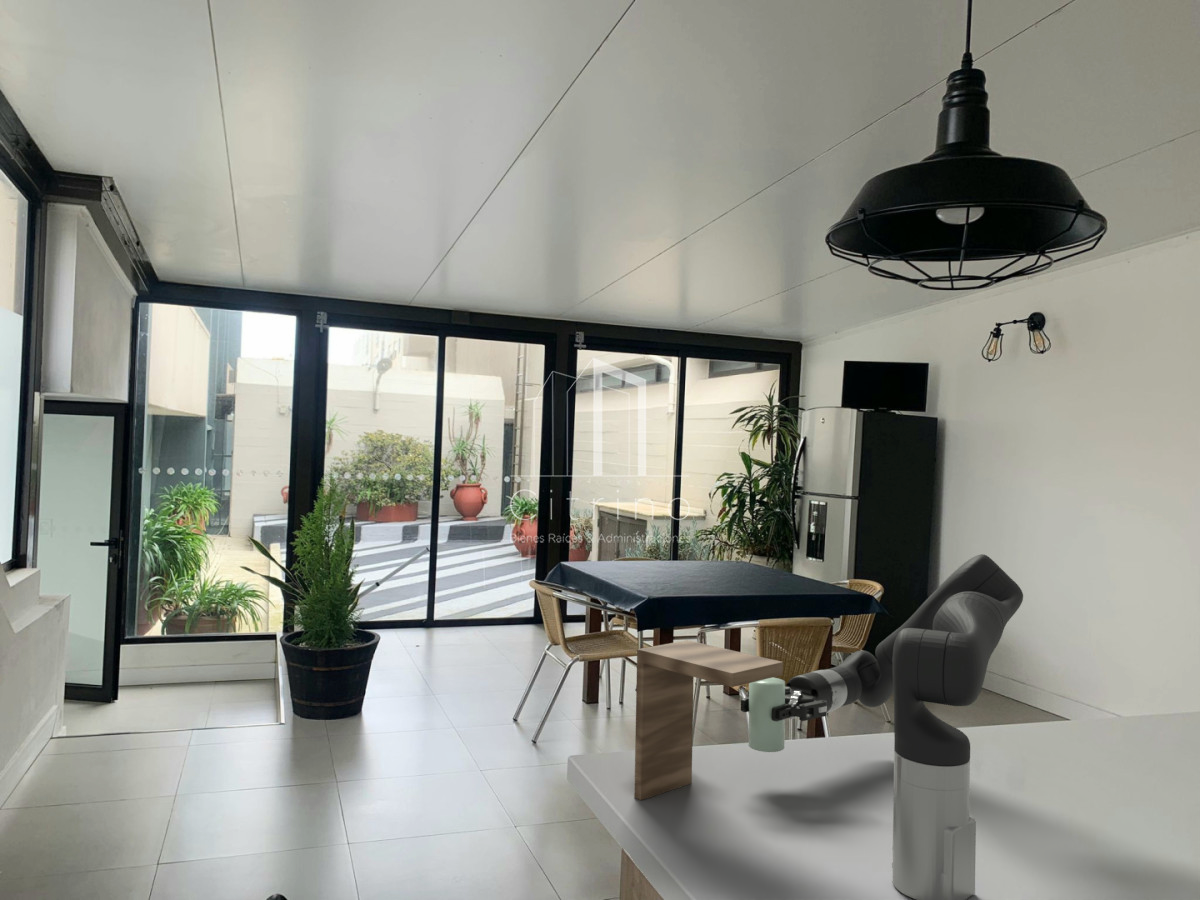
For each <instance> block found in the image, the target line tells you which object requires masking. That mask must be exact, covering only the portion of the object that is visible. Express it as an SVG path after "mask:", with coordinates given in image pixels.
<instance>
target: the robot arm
mask: <svg viewBox="0 0 1200 900" xmlns="http://www.w3.org/2000/svg"><path fill="white" fill-rule="evenodd" d="M1023 601H1024V593H1023V591H1022V589H1021V588H1020V586H1019V585H1018V584H1017V583H1016V581H1014V580H1013V578H1011V577H1010V575H1008V574H1007V573H1006V571H1004V570H1003V568H1001V567H1000V566H999V564H997V563H996V562H995V561H994V560H993V559H992V558H990V557H989V556H988V555H986V554H977V555H974V556H973V557H971V558H970V559H968V560H967V561H965V562H964V563H963V564H961V565H960V566H958V568H957V569H956V570H954V571H953V573H952V574H950V575H949V576H948V577H947V578H946V579H945V580H944V581H943V582H942V583H941V584H940V585H939V586H938V587H937V588H936V589H935V590H934V591H933V592H932V593H931V594H930V595H929V597H927V598H926V600H924V602H923V603H922V604H921V605H920V606H919V607H918V608H917V609H916V611H915V612H914V613H913V614H912V615H911V616H910V617H909V618H908V619H907V620H906V621H905V622H904V623H903V624H902V625H901V626H900V627H898V628H897V629H895V630H894V631H893V632H892V633H891V634H889V635H888V636H886V638H885V639H883V640H882V641H881V642H879V643H878V645H877V646H876V648H875V653H874V654H875V655H873V654H872V653H871V652H869V651H867V650H857V651H854V652H852V653H851V654H849V655H848V656H847V657H846V658H845V659H844V660H843V661H842V662H841V663H840V664H838V665H836V666H834V667H831V668H826V669H819V670H813V671H811V672H806V673H803V674H799V675H795V676H793V677H792V678H790V679H789V680H788V682H787V683H786V684H785V704H783V705H780V706H776V707H773V708H772V721H776V722H777V721H780V720H783V719H785V720H786V719H790V720H794V719H798V720H799V721H801V722H806V721H809V720H814V719H818V718H824V717H826V716H827V714H828V713H831V712H834V711H836V710H838V709H839V708H842V707H845V706H848V705H851V704H854V703H855V702H857V701H859V702H860V703H861V704H862V705H864V707H868V708H877V707H879V706H882V705H884V704H885V703H887V701H888V700H889V699H891V696H892V695H893V713H894V715H893V725H894V726H893V733H894V734H893V735H894V747H893V748H894V750H893V751H894V753H893V799H892V801H893V802H892V803H893V806H892V813H893V815H892V818H893V819H892V863H891V866H892V867H891V868H892V884H893V886H894V887H895V889H896V890H898V891H899V892H901V893H902V894H903V895H905V896H907V897H909V898H912V899H914V900H967V899H969V898H970V897H972V896H973V895H975V894H976V849H977V848H976V845H977V844H976V841H977V834H976V833H977V821H976V819H975V818H973V817H970V793H971V792H970V784H971V783H970V781H971V779H970V778H971V776H970V775H971V773H970V772H971V742H970V739H969V737H968V736H967V734H966V733H964V732H963V731H961V730H960V729H958V728H956V727H955V726H953V725H951V724H949V723H947V722H945V721H944V720H942V719H940V718H939V717H938V716H936V715H934V713H932V712H931V711H930V710H929V708H927V707H926V705H925V703H926V702H927V703H932V704H939V705H945V706H951V707H967V706H970V705H972V704H973V703H974V702H975V701H976V700H977V699H978V697H979V696H980V694H981V692H982V688H983V685H984V682H985V678H986V674H987V669H988V665H989V662H990V659H991V657H992V654H993V653H994V651H995V649H996V648H997V646H998V644H999V642H1000V641H1001V639H1002V636H1003V633H1004V630H1005V627H1006V625H1007V623H1008V622H1009V621H1010V620H1011V618H1012V617H1013V616H1014V614H1016V612H1017V611H1018V610H1019V609H1020V607H1021V605H1022V603H1023ZM740 711H741V712H742V713H749V689H748V690H747V697H743V698H742V699H741V700H740Z"/></svg>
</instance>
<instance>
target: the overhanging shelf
mask: <svg viewBox="0 0 1200 900" xmlns="http://www.w3.org/2000/svg"><path fill="white" fill-rule="evenodd" d="M783 673H784V662H783V661H780V660H776V659H771V658H767V657H763V656H758V655H754V654H749V653H746V652H741V651H736V650H733V649H728V648H724V647H720V646H719V647H718V646H714V645H710V644H706V643H701V642H697V641H692V640H688V639H687V640H682V641H675V642H670V643H664V644H658V645H653V646H648V647H643V648H642V647H641V648H637V649H636V686H635V689H636V691H635V695H636V697H635V704H636V705H635V744H634V745H635V747H634V748H635V752H634V753H635V754H634V794H633V795H634V797H633V798H634V799H636V800H639V801H643V800H646V799H648V798H652V797H654V796H658V795H661V794H663V793H667V792H671V791H672V790H675V789H679V788H682V787H685V786H688V785H691V784H692V782H693V777H692V775H693V729H694V727H693V726H694V725H693V723H694V678H697V679H701V680H704V681H708V682H712V683H715V684H719V685H723V686H727V687H730V688H734V687H738V686H742V685H746V684H749V683H751V682H756V681H760V680H764V679H768V678H772V677H774V678H777V677H780V676H783V675H784V674H783Z"/></svg>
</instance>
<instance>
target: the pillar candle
mask: <svg viewBox="0 0 1200 900" xmlns="http://www.w3.org/2000/svg"><path fill="white" fill-rule="evenodd" d="M785 686H786V681H785V680H784V679H781V678H779V677H772V678H768V679H764V680H760V681H756V682H751V683H748V690H749V712H748V747H749V748H750V749H752V750H754V751H758V752H763V753H776V752H777V753H778V752H781V751H784V749H785V742H786V741H785V737H786V736H785V735H786V734H785V728H786V727H785V726H786V722H785V721H786V719H783V720H780V721H777V722H776V721H772V708H773V707H776V706H780V705H783V704H785Z"/></svg>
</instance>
